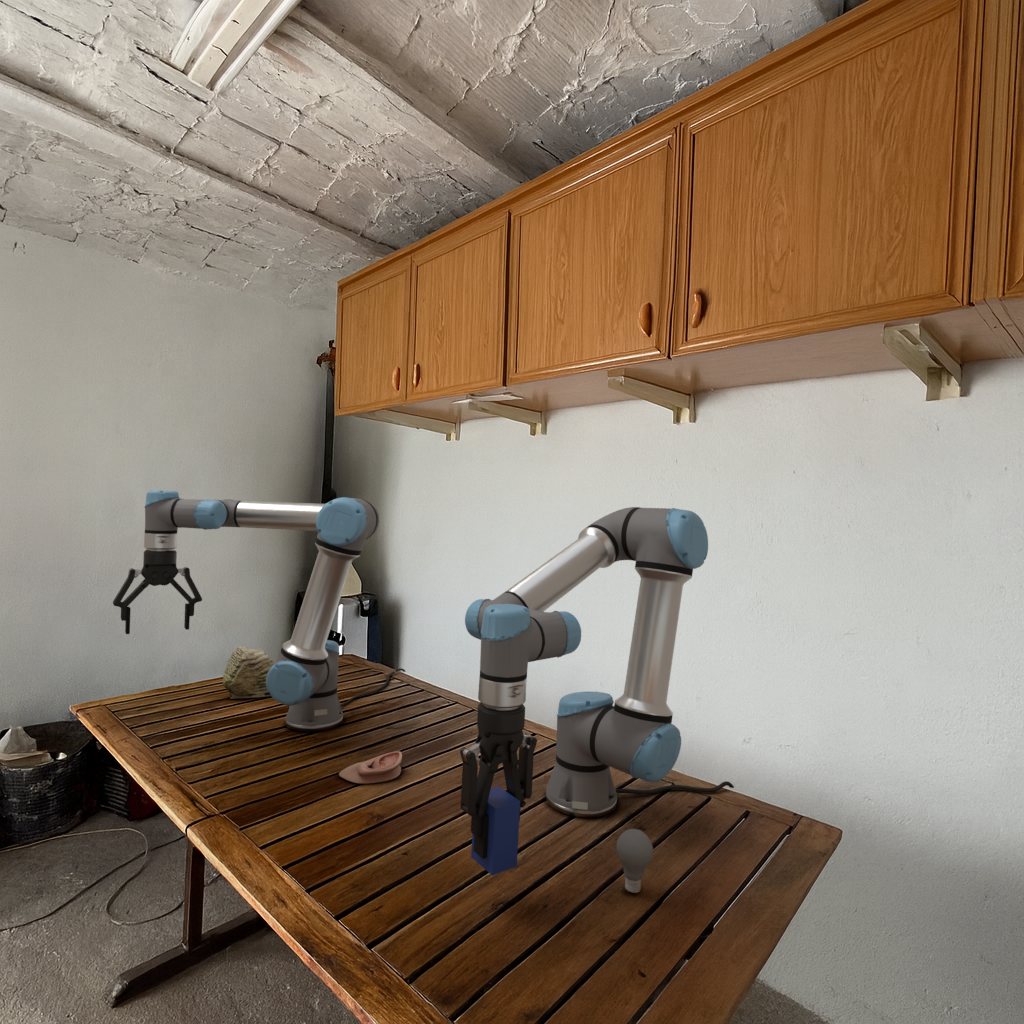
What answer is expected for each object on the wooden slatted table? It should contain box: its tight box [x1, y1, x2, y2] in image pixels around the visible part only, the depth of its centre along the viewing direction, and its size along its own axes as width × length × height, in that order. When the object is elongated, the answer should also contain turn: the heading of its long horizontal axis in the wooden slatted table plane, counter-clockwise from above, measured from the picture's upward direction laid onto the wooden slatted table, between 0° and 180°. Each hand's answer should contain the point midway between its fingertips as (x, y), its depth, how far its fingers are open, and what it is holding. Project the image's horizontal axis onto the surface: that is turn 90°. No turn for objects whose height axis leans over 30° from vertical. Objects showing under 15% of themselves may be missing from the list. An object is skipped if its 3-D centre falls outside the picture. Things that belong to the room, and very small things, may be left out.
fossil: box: [222, 646, 276, 699], centre depth 198 cm, size 9×18×15 cm, turn 132°
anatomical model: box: [338, 750, 403, 784], centre depth 146 cm, size 13×4×12 cm
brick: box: [470, 785, 521, 876], centre depth 101 cm, size 5×6×10 cm
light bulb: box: [615, 828, 654, 894], centre depth 106 cm, size 6×6×10 cm
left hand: (157, 630), depth 165 cm, fingers open, 13 cm apart
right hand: (494, 848), depth 101 cm, fingers closed on brick, 5 cm apart
